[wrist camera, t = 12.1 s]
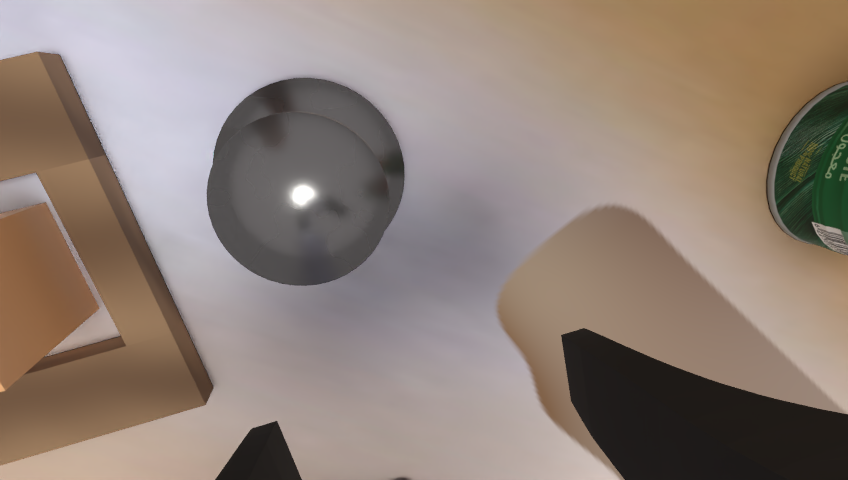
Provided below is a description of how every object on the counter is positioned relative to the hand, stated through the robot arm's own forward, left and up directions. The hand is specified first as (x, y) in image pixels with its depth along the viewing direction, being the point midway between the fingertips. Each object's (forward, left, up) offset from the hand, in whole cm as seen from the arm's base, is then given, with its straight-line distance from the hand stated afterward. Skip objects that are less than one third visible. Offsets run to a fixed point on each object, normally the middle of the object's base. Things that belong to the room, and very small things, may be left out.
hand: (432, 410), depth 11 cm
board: (+4, +14, -9) cm, 17 cm away
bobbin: (+5, +2, -9) cm, 11 cm away
